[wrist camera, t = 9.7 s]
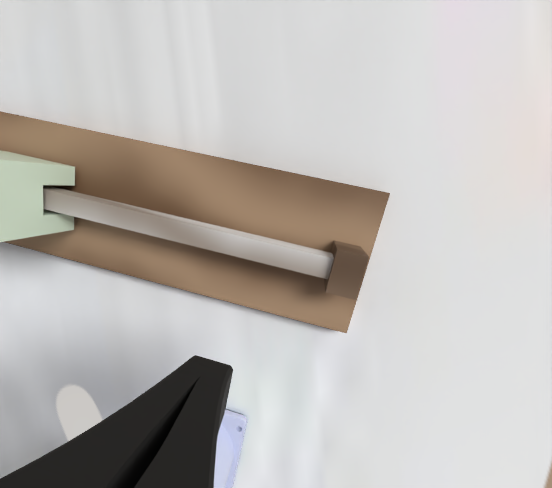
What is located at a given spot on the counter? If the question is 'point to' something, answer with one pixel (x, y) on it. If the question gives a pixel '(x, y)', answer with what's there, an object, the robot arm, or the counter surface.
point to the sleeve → (30, 196)
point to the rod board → (205, 222)
